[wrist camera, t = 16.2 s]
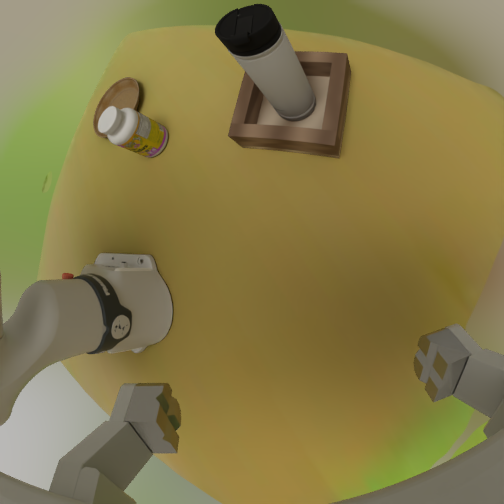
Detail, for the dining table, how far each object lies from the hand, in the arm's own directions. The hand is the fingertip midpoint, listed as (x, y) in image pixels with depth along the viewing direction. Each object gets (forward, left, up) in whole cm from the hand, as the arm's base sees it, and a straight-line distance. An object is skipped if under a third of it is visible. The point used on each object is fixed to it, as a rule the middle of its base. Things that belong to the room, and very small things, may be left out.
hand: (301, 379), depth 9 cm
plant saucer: (-53, +25, -32) cm, 67 cm away
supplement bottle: (-39, +17, -32) cm, 53 cm away
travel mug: (-13, +24, -31) cm, 41 cm away
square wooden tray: (-13, +24, -32) cm, 42 cm away
